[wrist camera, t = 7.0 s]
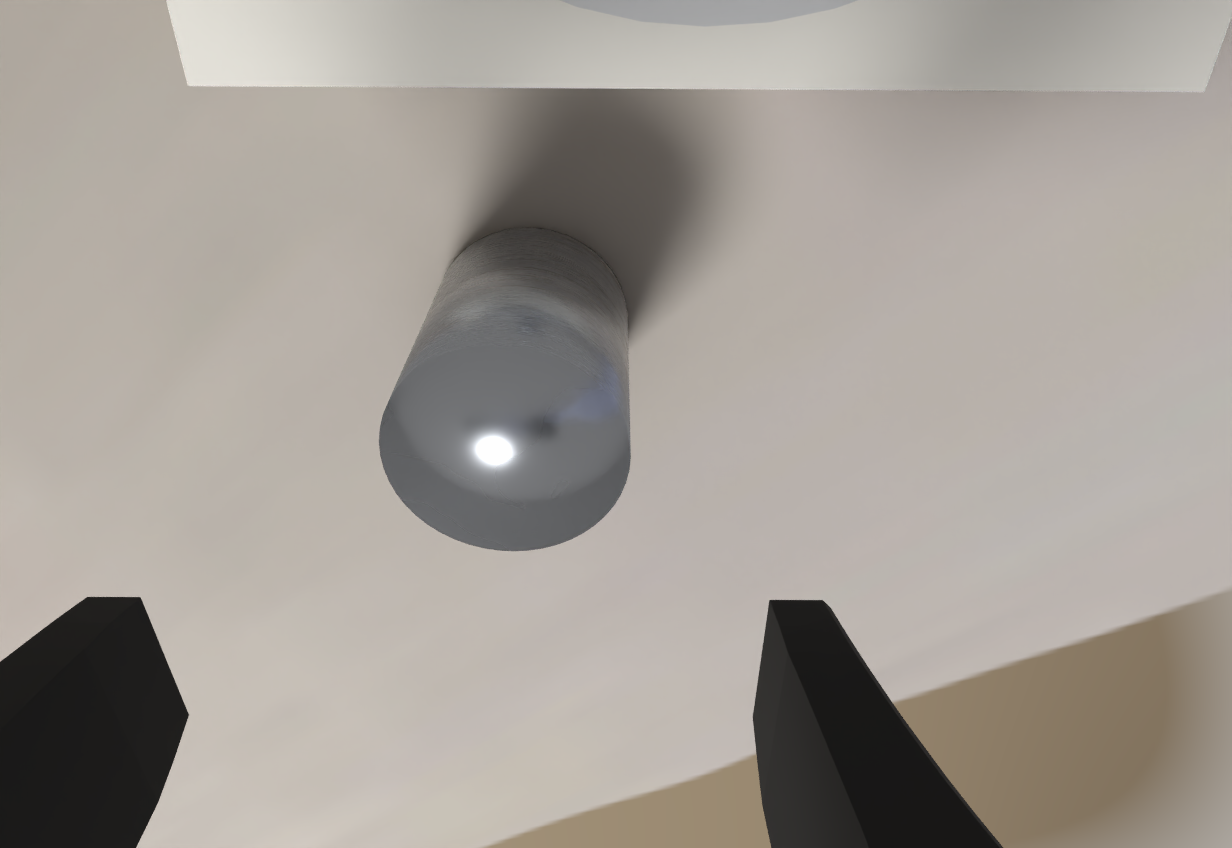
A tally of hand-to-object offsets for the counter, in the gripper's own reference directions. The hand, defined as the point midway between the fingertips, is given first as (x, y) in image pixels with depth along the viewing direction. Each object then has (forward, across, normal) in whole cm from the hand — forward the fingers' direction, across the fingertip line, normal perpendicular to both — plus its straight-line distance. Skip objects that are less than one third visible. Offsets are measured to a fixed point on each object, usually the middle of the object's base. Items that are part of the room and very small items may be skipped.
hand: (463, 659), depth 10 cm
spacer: (+9, 0, 0) cm, 9 cm away
